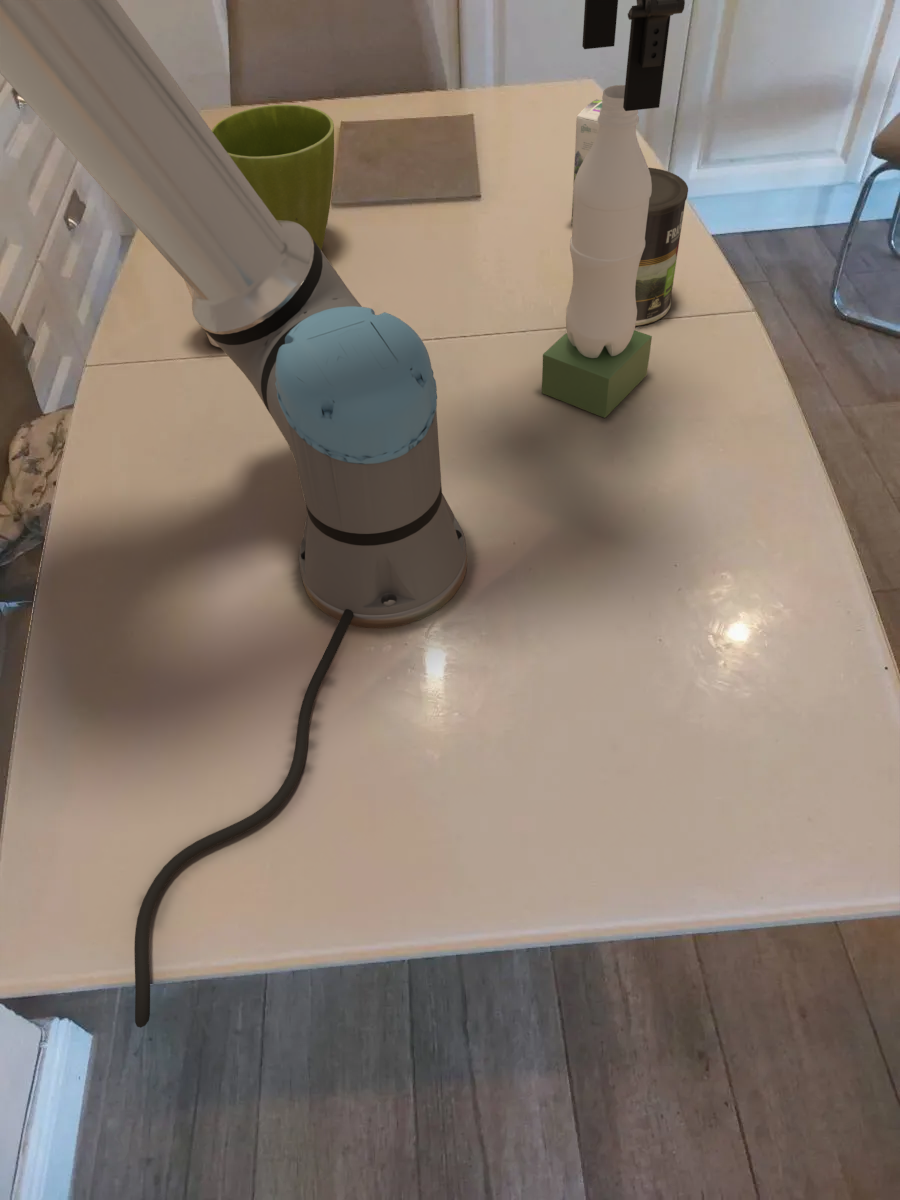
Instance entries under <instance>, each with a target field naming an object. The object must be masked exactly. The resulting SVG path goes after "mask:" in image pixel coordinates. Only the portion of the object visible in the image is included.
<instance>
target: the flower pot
mask: <svg viewBox="0 0 900 1200" xmlns="http://www.w3.org/2000/svg"><path fill="white" fill-rule="evenodd" d="M211 131H212V132H213V134H214V135H215V136H216V138H217V139H218V140H219V142H220V143H221V145H222V146H223V147H224V149H225V150H226V151H227V153H228V154H229V156H230V157H231V158H232V160H233V161H234V162H235V164H236V165H237V167H238V168H239V169H240V171H241V172H242V173H243V175H244V176H245V178H246V179H247V180H248V182H249V183H250V184H251V186H252V187H253V189H254V190H255V191H256V193H257V194H258V195H259V197H260V198H261V200H262V201H263V202H264V204H265V205H266V206H267V208H268V209H269V211H270V212H271V213H272V215H273V216H274V218H275V219H276V220H284V221H292V222H295V223H298V224H300V225H301V226H302V227H304V228H305V229H306V230H307V231H308V232H309V234H310V235H311V237H312V238H313V240H314V241H315V242H316V244H317V245H318V247H319V248H320V249H321V251H322V249H323V246H324V241H325V237H326V231H327V226H328V221H329V215H330V214H329V213H330V207H331V200H332V190H333V179H334V167H335V123H334V120H333V118H332V117H331V116H330V115H329V114H327V113H326V112H325V111H322V110H321V109H319V108H315V107H311V106H307V105H301V104H269V105H262V106H256V107H251V108H248V109H244V110H241V111H238V112H235V113H232V114H231V115H228V116H226V117H225V118H223V119H222V120H220V121H219V122H217V123H216V124H215V125H214V126H213V128H212V129H211Z"/></svg>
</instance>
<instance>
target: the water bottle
mask: <svg viewBox="0 0 900 1200" xmlns="http://www.w3.org/2000/svg"><path fill="white" fill-rule="evenodd" d="M624 93H625V84H616V85H611V86H608V87H605V88H604V89H603V90H602V96H601V97H602V99H601V100H602V108H601V110H600V115H599V116H598V123H599V125H600V127H599V131H598V135H597V137H596V140H595V142H594V143H593V145H592V147H591V149H590V150H589V152H588V154H587V155H586V157H585V159H584V161H583V162H582V164H581V166H580V168H579V170H578V172H577V175H576V178H575V181H574V186H573V185H572V196H573V195H574V204H573V223H572V225H571V237H570V240H569V252H570V257H571V263H572V284H571V290H570V294H569V299H568V302H567V306H566V311H565V330H566V333H567V335H568V338H569V340H570V342H571V343H572V345H573V346H576V347H577V349H578V351H579V352H580V353H581V354H582V355H583V356H585V357H588V358H597V357H598V356H599V355H600V353H601V351H602V349H603V347H604V346H605V347H606V349H607V351H608V353H609V354H610V355H611V356H616V355H618V354H620V353H621V352H622V351H623V350H624V349H625V348H626V346H627V345H628V343H629V342H630V340H631V338H632V335H633V332H634V330H635V329H636V326H635V325H636V318H637V306H636V298H635V286H636V277H637V271H638V267H639V263H640V260H641V256H642V253H643V251H644V248H645V232H646V223H647V215H648V207H649V198H650V196H651V193H652V182H651V176H650V172H649V169H648V168H649V167H648V163H647V161H646V158H645V155H644V153H643V151H642V148H641V146H640V143H639V141H638V136H637V128H636V127H637V125H638V124H639V122H640V116H639V115H638V114H639V110H632V111H625V109H624V108H623V103H624Z"/></svg>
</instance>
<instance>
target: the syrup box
mask: <svg viewBox="0 0 900 1200" xmlns="http://www.w3.org/2000/svg"><path fill="white" fill-rule="evenodd" d="M602 100H603V99H597V98H596V99H594V100H593V101H591V102H590V103H589V104H587V105H586V106H585V107H584V108H583V109H582V110H581V111H580V112H579V113H578V114H577V115H576V123H575V143H574V144H575V145H574V146H575V147H574V165H573V182H572V183H573V184H572V187H573V186H574V181H575V178H576V175H577V172H578V170H579V168H580V166H581V164H582V162H583V161H584V159H585V157H586V155H587V154H588V152H589V150H590V149H591V147H592V145H593V143H594V142H595V140H596V137H597V135H598V131H599V127H600V125H599V123H598V116H599V115H600V110H601V108H602ZM571 201H572V203H571V204H572V205H571V223H570V225H571V226H572V223H573V204H574V195H573V194H572V200H571Z"/></svg>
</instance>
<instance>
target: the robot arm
mask: <svg viewBox="0 0 900 1200" xmlns="http://www.w3.org/2000/svg"><path fill="white" fill-rule="evenodd" d="M685 5H686V0H636V5H631V7H630V9H629V11H628V13H627V18H628V20H629V21H630V31H629V40H628V41H629V42H628V51H627V62H626V72H625V81H624V82H625V84H624V85H625V93H624V103H623V108H624V109H625V111H632V110H638V111H641V110H650V109H659V108H660V105H661V96H662V88H663V81H664V70H665V63H666V56H667V54H666V53H667V47H668V40H669V31H670V23H671V16H673V15H678V14H683V12H684V10H685ZM618 7H619V0H584V9H583V10H584V14H583V31H582V48H583V50H590V49H591V50H592V49H600V48H601V49H602V48H611V47H612V48H613V47H615V43H616V32H617V31H616V29H617V19H618V9H619V8H618ZM0 75H1V76H2V77H3V78H4V79H5V80H6V81H7V83H8V84H9V85H10V87H12V89H14V91H15V92H16V93H17V94H18V95H19V97H21V99H23V101H24V102H25V103H26V104H27V106H29V108H30V109H32V111H33V112H34V113H35V114H36V115H37V117H38V118H39V119H40V120H41V121H42V122H43V123H44V124H45V126H47V127H48V129H49V130H50V132H52V134H54V136H55V137H56V138H57V139H58V140H59V141H60V142H61V143H62V145H64V147H65V148H66V149H67V150H68V151H69V152H70V153H71V154H72V156H74V158H75V159H76V160H77V161H78V162H79V163H80V165H81V166H82V167H83V168H84V169H85V170H86V172H87V173H89V174H90V176H91V177H92V178H93V179H94V180H95V181H96V182H97V184H98V185H99V187H101V188H102V189H103V190H104V192H105V193H106V194H107V195H108V196H109V197H110V198H111V199H112V201H113V202H114V203H116V205H117V207H119V208H120V210H121V211H122V212H123V213H124V215H126V216H127V217H128V219H129V220H130V221H131V222H132V223H133V224H134V225H135V227H136V228H138V230H139V231H140V232H141V233H142V234H143V236H144V237H146V239H147V240H148V241H149V242H150V244H152V245H153V247H154V248H155V249H156V250H157V251H158V252H159V253H160V255H161V256H162V257H163V258H164V259H165V260H166V261H167V262H168V263H169V264H170V266H171V267H172V268H173V269H174V270H175V271H176V272H177V273H178V275H179V276H180V277H181V278H182V279H183V281H184V280H185V281H186V282H187V283H188V284H189V286H190V287H191V288H192V289H193V297H192V298H191V310H192V311H191V312H192V315H193V318H194V319H195V321H196V322H197V323H198V325H199V327H200V328H202V329H203V330H204V331H205V333H206V332H207V334H208V335H209V336H210V337H211V338H212V339H213V340H214V341H215V342H216V343H217V344H218V346H219V347H218V348H219V349H221V350H222V351H223V352H224V354H226V355H227V357H228V358H229V359H230V360H231V361H232V362H233V363H234V364H235V365H236V367H237V368H238V369H239V370H240V371H241V372H242V373H243V375H244V376H245V377H246V378H247V379H248V381H249V382H250V384H251V385H252V387H253V389H254V390H255V392H256V393H257V395H258V396H259V399H261V401H262V403H263V405H264V407H265V408H266V409H267V411H268V413H269V414H270V416H271V418H272V419H273V421H274V423H275V425H276V426H277V428H278V429H279V431H280V433H281V435H282V436H283V438H284V440H285V441H286V443H287V444H288V447H289V449H290V451H291V454H292V457H293V459H294V462H295V466H296V471H297V473H298V478H299V483H300V488H301V491H302V492H301V493H302V495H303V500H304V504H305V508H306V518H305V523H304V526H303V527H304V528H303V533H302V534H303V535H302V540H301V543H300V548H299V553H298V554H299V555H298V566H299V567H298V568H299V571H300V572H299V573H300V575H301V579H302V583H303V587H304V590H305V592H306V593H307V596H308V597H309V600H311V601H312V603H313V604H314V605H315V606H316V607H317V608H318V609H319V611H322V613H323V614H326V615H327V616H329V617H330V618H332V619H334V620H336V621H338V623H337V625H336V626H335V629H334V630H333V633H332V636H331V638H330V639H329V642H328V644H327V646H326V648H325V650H324V652H323V654H322V656H321V658H320V661H319V662H318V664H317V666H316V668H315V671H314V672H313V675H312V676H311V679H310V681H309V683H308V685H307V688H306V690H305V693H304V696H303V699H302V702H301V705H300V710H299V714H298V720H297V727H296V737H295V746H294V753H293V756H292V761H291V765H290V768H289V770H288V773H287V775H286V777H285V779H284V781H283V783H282V784H281V786H280V787H279V789H278V790H277V792H276V793H275V794H274V795H273V796H272V798H271V799H270V800H269V801H268V802H266V803H265V805H263V806H262V807H260V809H257V811H256V810H255V812H254V813H252V814H251V815H248V816H246V817H245V818H243V819H241V820H240V821H237V822H235V823H233V824H231V825H229V826H226V827H223V828H222V829H220V830H218V831H215V832H213V833H211V834H208V835H207V836H204V837H203V838H201V839H199V840H196V841H195V842H193V843H191V844H190V845H188V846H187V847H185V848H183V849H182V850H181V851H179V852H178V853H177V854H175V855H174V856H173V857H172V858H171V859H170V860H169V861H168V862H167V863H166V864H165V865H164V866H163V867H162V869H160V871H159V872H158V874H157V875H156V876H155V878H154V879H153V881H152V882H151V884H150V886H149V887H148V889H147V891H146V893H145V895H144V898H143V900H142V902H141V905H140V908H139V911H138V915H137V918H136V925H135V931H134V947H133V949H134V951H133V952H134V987H135V988H134V989H135V990H134V992H135V993H134V996H135V997H134V1023H135V1026H136V1027H137V1028H143V1027H145V1026H146V1025H147V1024H148V1023H149V1021H150V1016H151V968H150V967H151V965H150V932H151V925H152V919H153V914H154V911H155V909H156V905H157V903H158V900H159V899H160V896H161V894H162V892H163V891H164V888H165V887H166V886H167V884H168V883H169V881H170V880H171V879H172V877H173V876H174V875H175V874H176V873H177V872H178V871H179V870H180V869H181V868H182V867H183V866H184V865H185V864H187V863H188V862H189V861H191V860H192V859H193V858H195V857H197V856H199V855H200V854H202V853H204V852H206V851H207V850H210V849H212V848H214V847H216V846H218V845H221V844H222V843H225V842H227V841H230V840H232V839H235V838H236V837H238V836H240V835H242V834H245V833H246V832H248V831H250V830H252V829H254V828H256V827H257V826H259V825H260V824H262V823H263V822H265V821H266V820H268V819H269V818H270V817H271V816H272V815H274V814H275V812H277V811H279V810H280V808H281V807H282V806H283V805H284V803H286V801H287V800H288V799H289V797H290V795H291V794H292V792H293V791H294V790H295V788H296V785H297V784H298V782H299V781H300V778H301V775H302V772H303V770H304V767H305V766H304V765H305V763H306V757H307V752H308V743H309V732H310V725H311V724H310V723H311V717H312V713H313V708H314V705H315V701H316V698H317V696H318V693H319V691H320V688H321V685H322V683H323V681H324V679H325V677H326V675H327V673H328V671H329V669H330V667H331V665H332V663H333V661H334V659H335V657H336V655H337V652H338V650H339V648H340V646H341V645H342V642H343V640H344V637H345V635H346V634H347V631H348V629H349V627H350V626H353V627H359V628H366V629H387V628H396V627H401V626H406V625H408V624H412V623H414V622H418V621H419V620H421V619H425V618H427V617H429V616H430V615H432V614H435V613H436V612H437V611H438V610H440V609H441V608H443V607H444V606H445V605H446V604H448V603H449V601H450V600H452V598H453V597H454V596H455V595H456V593H457V592H458V590H459V589H460V587H461V586H462V584H463V582H464V579H465V576H466V573H467V567H468V553H467V541H466V537H465V534H464V531H463V528H462V527H461V525H460V523H459V521H458V519H457V517H456V516H455V514H454V512H453V510H452V508H451V506H450V505H449V503H448V500H447V499H446V497H445V495H444V494H443V489H442V487H443V486H442V474H441V460H440V459H441V458H440V444H439V443H440V442H439V428H438V413H437V412H438V411H437V407H438V406H437V405H438V393H437V391H438V389H437V381H436V380H437V379H435V376H434V370H433V367H432V362H431V359H430V357H431V356H430V354H429V352H428V349H427V347H426V345H425V343H424V341H423V340H422V338H421V337H420V335H419V334H418V333H417V332H416V331H415V330H414V328H412V327H411V326H410V325H409V324H408V323H407V322H405V321H403V320H402V319H400V318H399V317H397V316H395V315H393V314H391V313H388V312H386V311H383V312H382V313H380V314H376V313H375V310H374V308H370V307H365V306H362V304H361V303H360V302H359V301H358V300H357V298H356V297H355V296H354V294H353V293H352V292H351V291H350V289H349V287H348V286H347V285H346V283H345V282H344V281H343V279H342V277H341V276H340V275H339V273H338V272H337V271H336V269H335V268H334V266H333V265H332V263H331V262H330V261H329V259H328V258H327V257H326V254H324V252H323V251H322V250H321V249H320V248H319V247H318V245H317V244H316V242H315V241H314V240H313V238H312V237H311V235H310V234H309V232H308V231H307V230H306V229H305V228H304V227H302V226H301V225H300V224H298V223H295V222H292V221H284V220H276V219H275V218H274V216H273V215H272V213H271V212H270V211H269V209H268V208H267V206H266V205H265V204H264V202H263V201H262V200H261V198H260V197H259V195H258V194H257V193H256V191H255V190H254V189H253V187H252V186H251V184H250V183H249V182H248V180H247V179H246V178H245V176H244V175H243V173H242V172H241V171H240V169H239V168H238V167H237V165H236V164H235V162H234V161H233V160H232V158H231V157H230V156H229V154H228V153H227V151H226V150H225V149H224V147H223V146H222V145H221V143H220V142H219V140H218V139H217V138H216V136H215V135H214V134H213V132H212V129H211V128H210V126H209V125H208V123H207V122H206V121H205V120H204V118H203V117H202V115H201V114H200V113H199V112H198V110H197V108H196V107H195V106H194V105H193V103H192V102H191V100H190V98H189V97H188V96H187V94H186V93H185V92H184V90H182V88H181V87H180V85H179V83H177V81H176V80H175V78H174V77H173V76H172V74H171V73H170V71H169V70H168V69H167V67H166V66H165V65H164V63H163V62H162V61H161V58H159V56H158V55H157V54H156V52H155V50H154V49H153V48H152V47H151V45H150V43H148V41H147V40H146V38H145V37H144V35H143V34H142V33H141V32H140V30H139V29H138V28H137V26H136V25H135V23H134V21H133V20H132V19H131V18H130V16H129V15H128V14H127V12H126V11H125V9H124V8H123V7H122V5H121V4H120V3H119V1H118V0H0ZM185 281H184V282H185ZM207 334H206V335H207Z"/></svg>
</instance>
